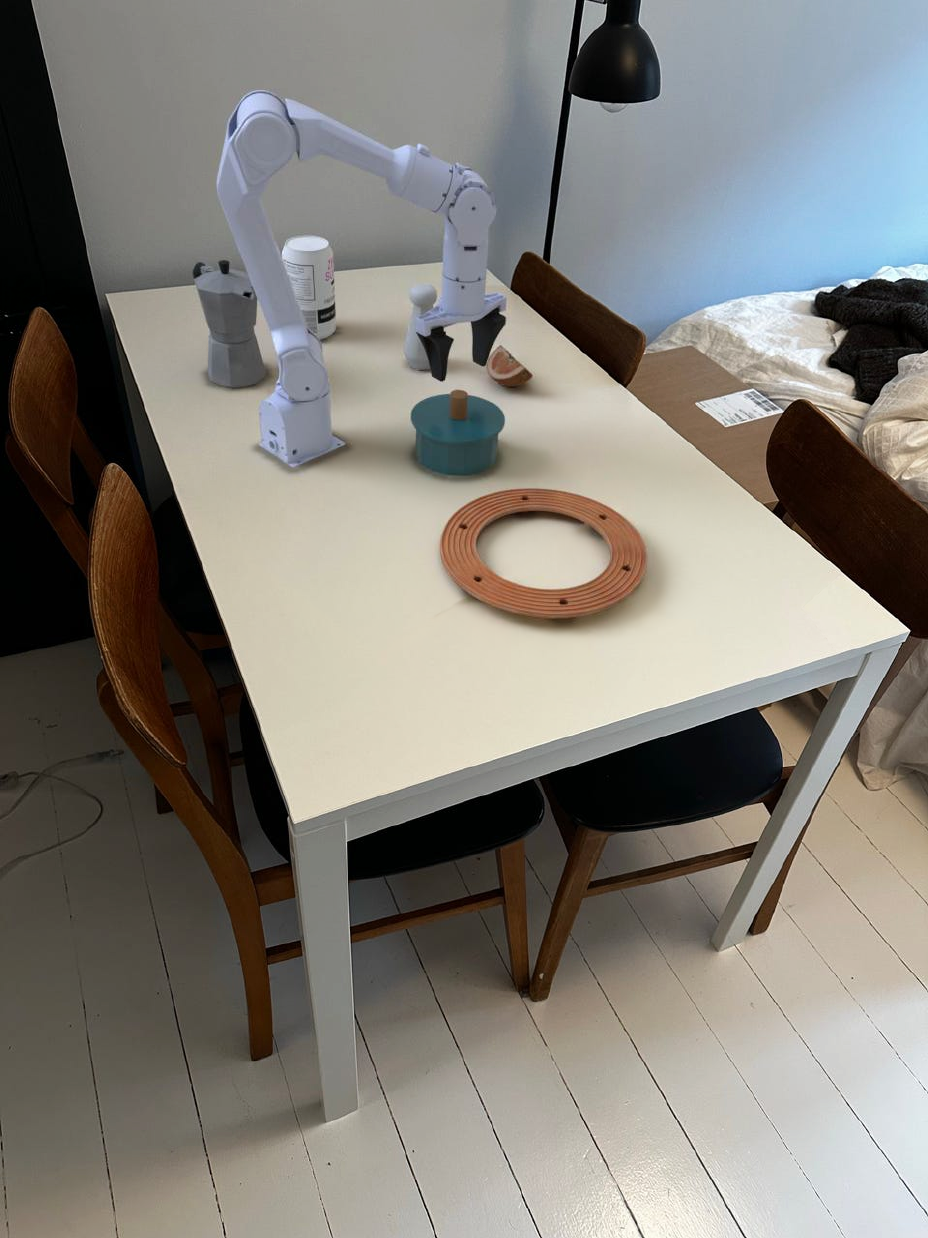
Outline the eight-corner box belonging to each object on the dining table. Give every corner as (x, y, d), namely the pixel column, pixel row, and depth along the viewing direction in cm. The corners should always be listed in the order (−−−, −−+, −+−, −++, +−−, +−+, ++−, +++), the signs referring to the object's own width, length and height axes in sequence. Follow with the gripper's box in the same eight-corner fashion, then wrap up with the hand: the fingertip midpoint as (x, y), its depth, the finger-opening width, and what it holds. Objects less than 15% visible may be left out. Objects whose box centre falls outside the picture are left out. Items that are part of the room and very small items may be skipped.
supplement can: (282, 325, 162) (274, 236, 152) (327, 318, 165) (323, 231, 155) (296, 344, 156) (289, 254, 146) (342, 337, 159) (339, 249, 149)
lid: (503, 451, 124) (505, 421, 121) (405, 443, 124) (406, 413, 121) (505, 404, 133) (508, 375, 130) (415, 397, 134) (415, 368, 131)
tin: (455, 488, 126) (457, 449, 122) (398, 454, 132) (399, 416, 128) (512, 459, 132) (516, 421, 129) (455, 428, 138) (457, 391, 134)
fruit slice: (539, 392, 148) (542, 363, 145) (501, 399, 146) (504, 370, 142) (514, 369, 153) (517, 341, 150) (478, 376, 151) (480, 347, 148)
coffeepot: (286, 381, 146) (277, 267, 134) (235, 399, 141) (220, 282, 129) (231, 347, 154) (217, 236, 142) (181, 363, 149) (162, 249, 137)
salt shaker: (423, 376, 150) (425, 297, 142) (396, 364, 153) (396, 286, 144) (445, 363, 154) (449, 286, 145) (419, 353, 156) (420, 276, 148)
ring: (470, 643, 103) (472, 626, 101) (418, 513, 121) (418, 498, 120) (678, 612, 109) (682, 596, 107) (598, 492, 127) (601, 477, 125)
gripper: (484, 252, 127) (478, 346, 135) (401, 275, 119) (400, 374, 128) (520, 269, 123) (511, 365, 132) (436, 294, 115) (433, 394, 124)
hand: (459, 370), depth 130 cm, fingers open, 7 cm apart
